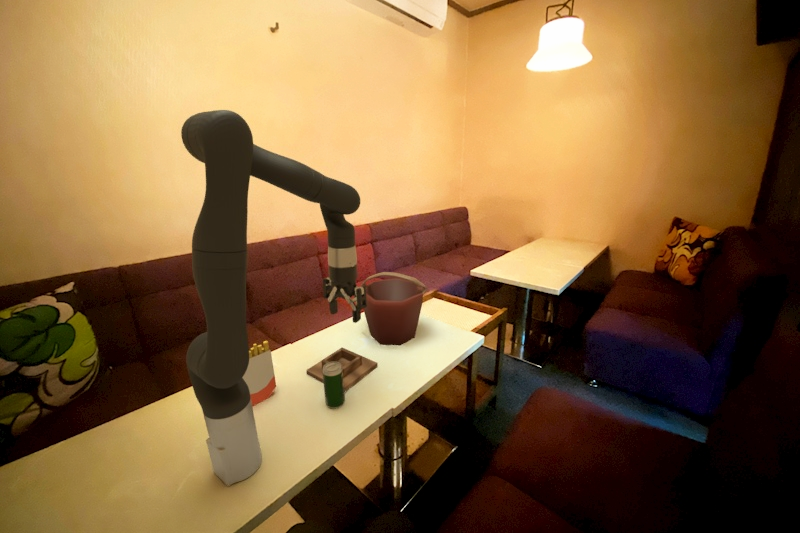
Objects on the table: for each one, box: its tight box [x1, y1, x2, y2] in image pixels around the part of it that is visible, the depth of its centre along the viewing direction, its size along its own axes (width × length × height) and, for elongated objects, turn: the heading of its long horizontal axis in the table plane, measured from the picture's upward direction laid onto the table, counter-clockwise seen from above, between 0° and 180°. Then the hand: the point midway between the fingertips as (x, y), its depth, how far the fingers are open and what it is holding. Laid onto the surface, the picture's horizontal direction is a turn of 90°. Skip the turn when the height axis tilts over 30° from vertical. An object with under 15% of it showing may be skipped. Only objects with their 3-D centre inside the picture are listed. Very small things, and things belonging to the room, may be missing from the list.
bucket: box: [360, 271, 428, 347], centre depth 130 cm, size 24×22×25 cm
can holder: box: [305, 347, 378, 393], centre depth 113 cm, size 16×16×4 cm
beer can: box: [323, 362, 346, 410], centre depth 97 cm, size 5×5×12 cm
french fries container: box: [242, 340, 277, 407], centre depth 98 cm, size 5×11×18 cm, turn 135°
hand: (345, 317), depth 98 cm, fingers open, 8 cm apart
